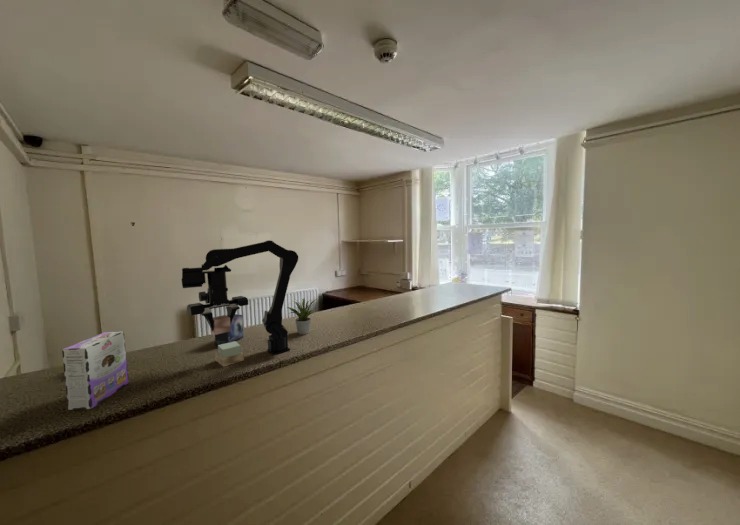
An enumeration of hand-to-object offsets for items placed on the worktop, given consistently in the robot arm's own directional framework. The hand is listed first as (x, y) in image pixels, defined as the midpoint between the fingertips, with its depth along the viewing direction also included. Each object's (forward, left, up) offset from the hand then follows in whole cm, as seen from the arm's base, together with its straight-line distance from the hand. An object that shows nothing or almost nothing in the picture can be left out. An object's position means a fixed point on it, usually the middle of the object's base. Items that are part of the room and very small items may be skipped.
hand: (220, 328), depth 105 cm
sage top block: (-2, +2, -9) cm, 9 cm away
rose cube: (0, 0, -1) cm, 1 cm away
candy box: (+32, 0, -12) cm, 35 cm away
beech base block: (-2, +2, -12) cm, 12 cm away
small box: (-10, -19, -12) cm, 24 cm away
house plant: (-39, -6, -12) cm, 41 cm away
